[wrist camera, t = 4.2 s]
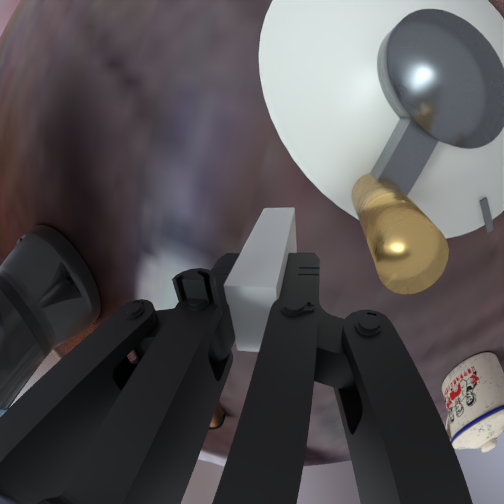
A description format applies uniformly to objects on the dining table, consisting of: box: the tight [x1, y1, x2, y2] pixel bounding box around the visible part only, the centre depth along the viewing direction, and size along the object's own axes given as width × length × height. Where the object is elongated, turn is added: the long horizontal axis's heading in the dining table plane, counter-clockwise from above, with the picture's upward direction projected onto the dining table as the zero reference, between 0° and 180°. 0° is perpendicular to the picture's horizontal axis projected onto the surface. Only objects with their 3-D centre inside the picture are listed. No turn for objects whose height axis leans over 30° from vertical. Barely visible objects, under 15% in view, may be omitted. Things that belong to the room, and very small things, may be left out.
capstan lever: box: [351, 9, 504, 294], centre depth 9 cm, size 14×8×8 cm, turn 158°
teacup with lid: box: [442, 352, 504, 452], centre depth 19 cm, size 12×9×12 cm
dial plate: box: [259, 0, 504, 238], centre depth 12 cm, size 22×22×2 cm
